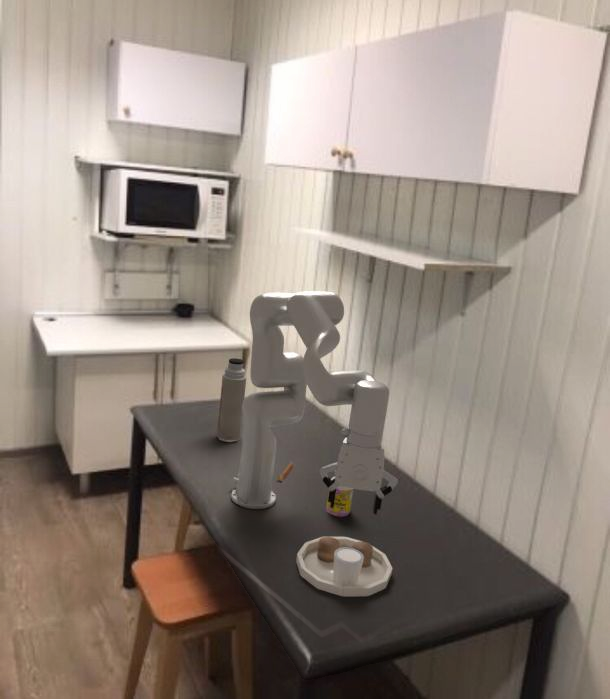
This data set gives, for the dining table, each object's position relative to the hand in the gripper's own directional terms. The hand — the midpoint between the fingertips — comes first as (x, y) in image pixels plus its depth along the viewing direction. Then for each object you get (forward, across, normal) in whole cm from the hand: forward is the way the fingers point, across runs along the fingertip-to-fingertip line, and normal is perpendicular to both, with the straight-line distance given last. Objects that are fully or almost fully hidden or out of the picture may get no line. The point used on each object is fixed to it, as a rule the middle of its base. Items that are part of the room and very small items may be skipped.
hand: (353, 508), depth 153 cm
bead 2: (+19, +4, +10) cm, 21 cm away
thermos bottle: (+21, -41, +78) cm, 90 cm away
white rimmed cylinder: (+19, +1, 0) cm, 19 cm away
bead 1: (+19, -4, +10) cm, 21 cm away
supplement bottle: (+20, -2, +34) cm, 40 cm away
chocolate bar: (+21, -19, +56) cm, 62 cm away
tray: (+20, 0, +5) cm, 20 cm away
